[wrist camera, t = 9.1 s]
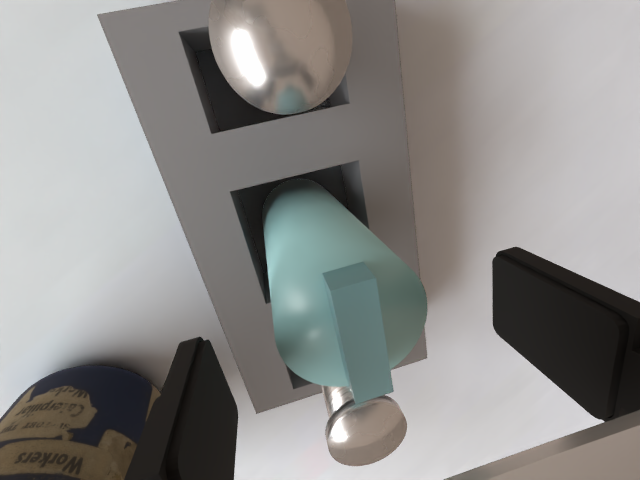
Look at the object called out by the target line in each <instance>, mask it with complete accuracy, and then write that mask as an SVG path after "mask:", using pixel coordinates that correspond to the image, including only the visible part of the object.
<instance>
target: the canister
mask: <svg viewBox="0 0 640 480" xmlns="http://www.w3.org/2000/svg"><path fill="white" fill-rule="evenodd" d="M160 395H161V393H160V392H159V391H158V390H157V389H156V388H155V387H154V386H153V385H152V384H151V383H150V382H148V381H147V380H146V379H144V378H143V377H141V376H139V375H137V374H135V373H132V372H130V371H127V370H124V369H120V368H115V367H109V366H80V367H74V368H69V369H64V370H61V371H58V372H56V373H53V374H51V375H49V376H47V377H45V378H43V379H41V380H39V381H38V382H36V383H35V384H33V385H32V386H31V387H29V388H28V389H27V390H26V391H25V392H24V393H23V394H21V395H20V397H19V398H18V399H17V400H16V401H15V402H14V403H13V404H12V406H11V407H10V408H9V409H8V410H7V412H6V413H5V414H4V415H3V416H2V417H1V419H0V480H124V478H125V476H126V473H127V470H128V468H129V465H130V463H131V460H132V457H133V455H134V452H135V450H136V447H137V444H138V442H139V439H140V436H141V434H142V431H143V429H144V426H145V423H146V421H147V418H148V416H149V413H150V410H151V408H152V405H153V403H154V401H155V399H156V398H157V397H159V396H160Z"/></svg>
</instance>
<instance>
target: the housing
mask: <svg viewBox="0 0 640 480" xmlns="http://www.w3.org/2000/svg"><path fill="white" fill-rule="evenodd" d="M345 1H346V3H347V7H348V10H349V13H350V18H351V23H352V34H353V36H352V51H351V57H350V61H349V65H348V67H347V70H346V73H345V75H344V77H343V79H342V81H341V83H340V84H339V85H338V87H337V88H336V90H335V91H334V92H333V93H332V94H331V95H330V96H329V100H330V106H331V107H328V108H324V109H319V110H315V111H310V112H306V113H301V114H297V115H292V116H288V117H283V118H279V119H274V120H270V121H265V122H261V123H256V124H252V125H247V126H243V127H238V128H234V129H229V130H225V131H219V128H218V125H217V122H216V118H215V115H214V112H213V109H212V105H211V102H210V99H209V96H208V93H207V89H206V86H205V83H204V80H203V76H202V73H201V70H200V67H199V64H198V60H197V57H196V54H195V52H197V51H202V50H208V49H212V47H211V42H210V36H209V10H210V4H211V0H178V1H172V2H167V3H161V4H155V5H149V6H144V7H138V8H132V9H126V10H120V11H115V12H109V13H103V14H97V16H98V18H99V21H100V23H101V26H102V28H103V31H104V33H105V36H106V38H107V41H108V43H109V46H110V48H111V51H112V53H113V56H114V58H115V61H116V63H117V66H118V68H119V71H120V73H121V76H122V78H123V81H124V83H125V86H126V88H127V91H128V93H129V96H130V98H131V101H132V103H133V106H134V108H135V111H136V113H137V116H138V118H139V121H140V123H141V126H142V128H143V131H144V133H145V136H146V138H147V141H148V143H149V146H150V148H151V151H152V153H153V156H154V158H155V161H156V163H157V166H158V168H159V171H160V173H161V176H162V178H163V181H164V183H165V186H166V188H167V191H168V193H169V196H170V198H171V201H172V203H173V206H174V208H175V211H176V213H177V216H178V218H179V221H180V223H181V226H182V228H183V231H184V233H185V236H186V238H187V241H188V243H189V246H190V248H191V251H192V253H193V256H194V258H195V261H196V263H197V266H198V268H199V271H200V273H201V276H202V278H203V281H204V283H205V286H206V288H207V291H208V293H209V296H210V298H211V301H212V303H213V306H214V308H215V311H216V313H217V316H218V318H219V321H220V323H221V326H222V328H223V331H224V333H225V336H226V338H227V341H228V343H229V346H230V348H231V351H232V353H233V356H234V358H235V361H236V363H237V366H238V368H239V371H240V373H241V376H242V378H243V381H244V383H245V386H246V388H247V391H248V393H249V396H250V398H251V401H252V403H253V406H254V408H255V411H256V413H260V412H263V411H266V410H269V409H273V408H276V407H279V406H282V405H285V404H288V403H291V402H294V401H297V400H300V399H303V398H306V397H309V396H312V395H316V394H319V393H322V392H323V391H322V387H321V385H319V384H315V383H312V382H310V381H307V380H305V379H303V378H301V377H300V376H298V375H297V374H295V373H294V372H293V371H292V370H291V369H290V368H289V367H288V366H287V365H286V364H285V363H284V361H283V359H282V358H281V356H280V354H279V352H278V349H277V346H276V342H275V335H274V326H273V316H272V307H271V297H270V288H269V278H268V272H265V273H263V270H262V266H261V263H260V260H259V257H258V254H257V250H256V247H255V244H254V241H253V237H252V234H251V231H250V228H249V225H248V221H247V218H246V215H245V212H244V208H243V205H242V202H241V199H240V196H239V192H238V190H239V189H243V188H247V187H251V186H255V185H259V184H263V183H267V182H271V181H276V180H280V179H284V178H288V177H292V176H296V175H300V174H304V173H308V172H312V171H317V170H321V169H325V168H329V167H333V166H337V165H341V169H342V174H343V180H344V186H345V191H346V197H347V203H348V209H349V211H350V212H351V213H352V214H353V215H354V216H355V217H356V218H357V219H358V220H359V221H360V222H361V223H363V224H364V225H365V226H366V227H367V228H368V229H369V230H370V231H371V232H372V233H373V234H374V235H375V236H377V237H378V238H379V239H380V240H381V241H382V242H383V243H384V244H385V245H386V246H387V247H388V248H389V249H391V250H392V251H393V252H394V253H395V254H396V255H397V256H398V257H399V258H400V259H401V260H402V261H403V262H405V263H406V264H407V265H408V266H409V267H410V268H411V269H412V270H413V271H414V272H415V273H416V275H417V276H418V277H419V279H420V273H419V262H418V251H417V240H416V229H415V218H414V207H413V196H412V185H411V174H410V163H409V152H408V141H407V130H406V119H405V108H404V97H403V86H402V75H401V64H400V53H399V41H398V30H397V19H396V8H395V0H345ZM426 358H427V350H426V339H425V328H423V331H422V333H421V336H420V338H419V339H418V341H417V343H416V344H415V346H414V347H413V349H412V350H411V351H410V353H409V354H408V355H407V356H406V357H405V358H404V359H403V360H402V361H401V362H400V363H399V364H398V365H396V366H395V367H394V368H392V369H395V368H399V367H402V366H405V365H408V364H411V363H414V362H417V361H420V360H423V359H426ZM392 369H391V370H392Z"/></svg>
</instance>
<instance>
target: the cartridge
mask: <svg viewBox="0 0 640 480" xmlns="http://www.w3.org/2000/svg"><path fill="white" fill-rule="evenodd" d="M262 221H263V230H264V240H265V249H266V259H267V268H268V278H269V288H270V297H271V307H272V316H273V326H274V335H275V342H276V346H277V349H278V352H279V354H280V356H281V358H282V359H283V361H284V363H285V364H286V365H287V366H288V367H289V368H290V369H291V370H292V371H293V372H294V373H295V374H297V375H298V376H300V377H301V378H303V379H305V380H307V381H310V382H312V383H315V384H319V385H324V386H332V387H342V386H349V387H350V390H351V393H352V396H353V398H354V401H355V404H358V403H361V402H364V401H367V400H370V399H373V398H376V397H379V396H382V395H385V394H388V393H391V392H393V385H392V379H391V372H390V370H391V369H392V368H394V367H395V366H396V365H398V364H399V363H400V362H401V361H402V360H403V359H404V358H405V357H406V356H407V355H408V354H409V353H410V351H411V350H412V349H413V347H414V346H415V344H416V343H417V341H418V339H419V338H420V336H421V333H422V331H423V328H424V325H425V321H426V316H427V298H426V293H425V290H424V287H423V285H422V283H421V281H420V279H419V277H418V276H417V275H416V273H415V272H414V271H413V270H412V269H411V268H410V267H409V266H408V265H407V264H406V263H405V262H403V261H402V260H401V259H400V258H399V257H398V256H397V255H396V254H395V253H394V252H393V251H392V250H391V249H389V248H388V247H387V246H386V245H385V244H384V243H383V242H382V241H381V240H380V239H379V238H378V237H377V236H375V235H374V234H373V233H372V232H371V231H370V230H369V229H368V228H367V227H366V226H365V225H364V224H363V223H361V222H360V221H359V220H358V219H357V218H356V217H355V216H354V215H353V214H352V213H351V212H350V211H349V210H347V209H346V208H345V207H344V206H343V205H342V204H341V203H340V202H339V201H338V200H337V199H336V198H335V197H333V196H332V195H331V194H330V193H329V192H328V191H327V190H326V189H325V188H324V187H323V186H321V185H320V184H318V183H316V182H314V181H312V180H308V179H292V180H288V181H285V182H283V183H281V184H280V185H278V186H277V187H275V188H274V189H273V190H272V191H271V192H270V194H269V195H268V197H267V198H266V200H265V203H264V206H263V210H262Z"/></svg>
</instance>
